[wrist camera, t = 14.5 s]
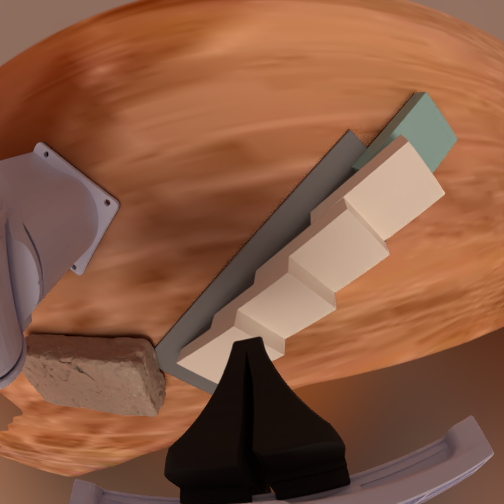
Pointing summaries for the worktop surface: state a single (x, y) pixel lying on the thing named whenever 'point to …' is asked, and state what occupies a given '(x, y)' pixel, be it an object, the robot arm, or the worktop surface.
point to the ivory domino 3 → (283, 300)
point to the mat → (258, 255)
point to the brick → (96, 373)
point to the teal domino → (415, 132)
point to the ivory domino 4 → (226, 345)
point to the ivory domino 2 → (333, 248)
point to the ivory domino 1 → (388, 189)
